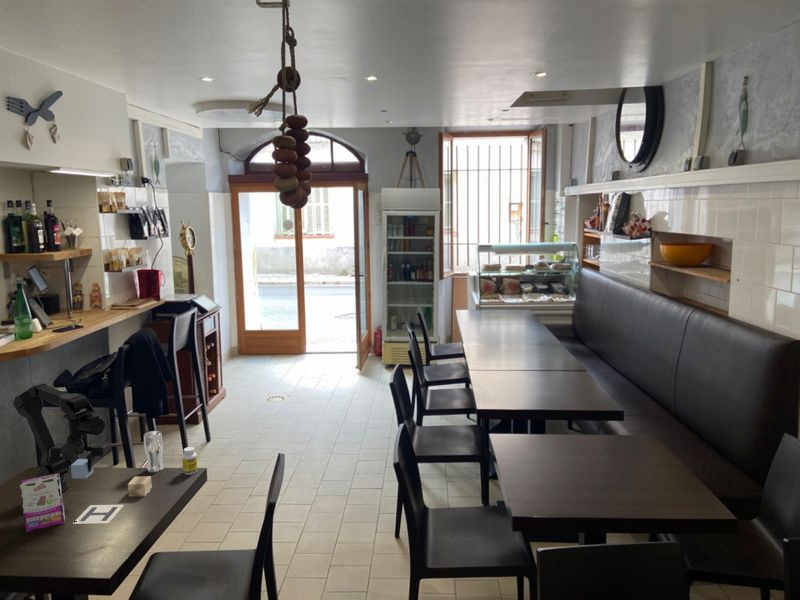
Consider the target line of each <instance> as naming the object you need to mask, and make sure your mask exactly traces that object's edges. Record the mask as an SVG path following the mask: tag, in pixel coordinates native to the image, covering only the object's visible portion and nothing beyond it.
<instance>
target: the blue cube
mask: <svg viewBox="0 0 800 600" xmlns="http://www.w3.org/2000/svg"><path fill="white" fill-rule="evenodd" d="M70 471H71V479H87V478H88V477H90V476H91V475H92V474H93V473H94V467H93V468H92V470H91V472H89V471H88V460H87V459H86V458H78V459H76V461H75V462H74V463H73V464H72V465H71V467H70Z"/></svg>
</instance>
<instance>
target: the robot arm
mask: <svg viewBox="0 0 800 600" xmlns="http://www.w3.org/2000/svg"><path fill="white" fill-rule="evenodd" d="M43 401H46V402H47V403H51V404H53V405H56V406H58V407H59V410H60V411H61V412H62V413H64V415H63V416H62V417H63V419H67V427H68V435H67V436H66V437H67V438H66V442H60V443H59V442H57V443H56V444H55V441H54V439H53V436H52V435H51V432H50V430H49V427H48V425H47V423H46V420H45V418H44V416H43V408H44V403H43ZM12 402H13V403H12V404H13V407H14V408H15V410H16V412H17V413H18V414H19V415H20V416H21V417H23V418H25V419H26V420H27V424H28V426H29V427H30V430H31V432H32V435H33V437H34V439H35V441H36V443H37V446H38V448H39V451H40V453H41V458H40V463H39V464H40V467H41V469H40V470H39V471H38V473H37V474H36V478H37V477H42V476H46V475H52V474H57V473H59V474H60V482H61V490H62V494H64V492H66V491H67V490H68V489H69V486H68V485H67V479H66V478H65V475H66V474H68V473H69V468H71V465H72V464H73V463H74V462H75V461H76V460H77V458H78V456H79V455H83V454H84V453H88V454H87V455H86V456H85V459H87V460H88V471H89V472H91V470H92V468H93V469H94V464H95V461H96V459H97V457H102V456H104V455H105V454H107V453H108V451H110V450H111V445H110V444H109V443H108V442H105V441H103V442H97V443H96V444H94V445H91V440H89V435H93V436H99V435H101V434H102V433H103V432H104V430H105V426H106V423H105V421H104V420H103V419H102V418H100V417H99V414H95V412H96V411H95V409H94V406H92V404H91V403H90V401H89V399H88V398H87V397H86V395H84V394H82V393H76V392H75V393H74V392H73V393H67V392H65V391H61V390H59V389H57V388H54V387H51V386H49V385H48V384H46V383H43V382H42V383H39V384H35V385H33V386H31V387H29V388H28V389H27V390H25V391H23V392H22V393H20V394H18V395H16V396H15V397H14V400H13V401H12Z"/></svg>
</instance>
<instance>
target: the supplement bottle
mask: <svg viewBox="0 0 800 600" xmlns="http://www.w3.org/2000/svg"><path fill="white" fill-rule="evenodd" d="M181 458H182V473H183V474H184V475H186V476H187V475H194V474H196V473H197V472H198V457H197V453H196V452H195V447H193V446H188V447H185V448H184V449H183V454H182V457H181Z"/></svg>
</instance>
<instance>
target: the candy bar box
mask: <svg viewBox="0 0 800 600" xmlns="http://www.w3.org/2000/svg"><path fill="white" fill-rule="evenodd" d="M19 492H20V496H21V497H20V498H21V505H22V512H23V519H24V526H25V527H24V528H25V532H26V533H29V532H33V531H37V530H42V529H47V528H49V527H50V526H51V527H54V526H59V525H63V523H64V524H65V519H66V513H65V507H64V500H63V499H64V498H63V493H62V490H61V482H60V474H59V473H57V474H52V475H46V476H42V477H37V476H36V477H31V478H28V479H23V480H21V482H20V485H19ZM46 527H47V528H46ZM41 528H42V529H41ZM28 531H29V532H28Z"/></svg>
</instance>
